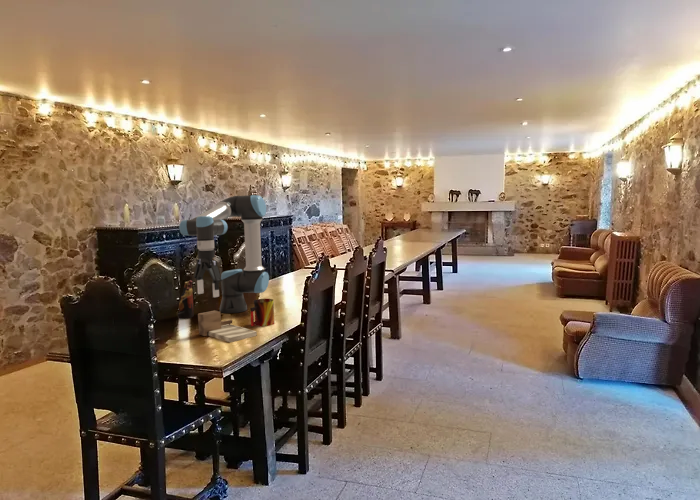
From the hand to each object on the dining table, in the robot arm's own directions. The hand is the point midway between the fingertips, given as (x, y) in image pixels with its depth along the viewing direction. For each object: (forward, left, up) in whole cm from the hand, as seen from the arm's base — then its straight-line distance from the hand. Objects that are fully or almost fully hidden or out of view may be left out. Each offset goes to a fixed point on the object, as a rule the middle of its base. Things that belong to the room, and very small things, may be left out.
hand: (208, 295), depth 228 cm
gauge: (0, +4, -18) cm, 18 cm away
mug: (+6, +26, -19) cm, 33 cm away
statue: (-41, +9, -19) cm, 46 cm away
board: (+8, +5, -18) cm, 21 cm away
